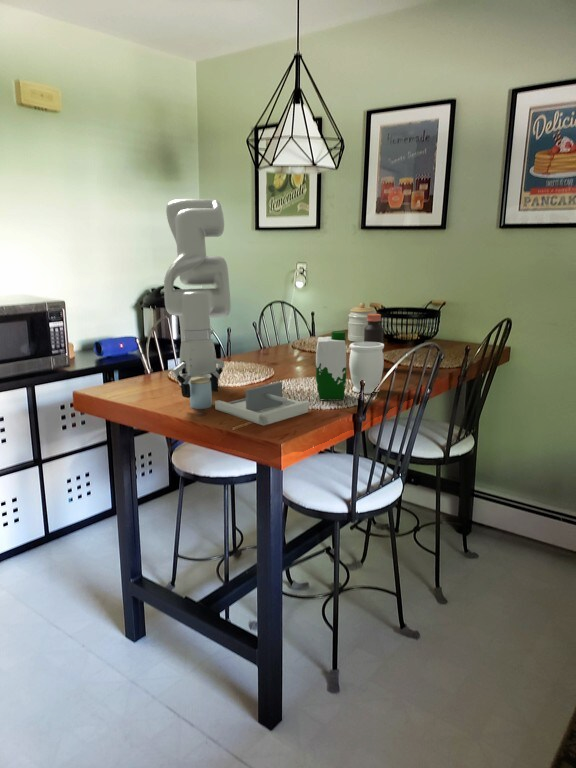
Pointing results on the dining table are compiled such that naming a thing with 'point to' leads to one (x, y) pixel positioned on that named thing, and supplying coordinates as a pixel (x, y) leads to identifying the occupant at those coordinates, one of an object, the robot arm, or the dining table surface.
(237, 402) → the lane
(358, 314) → the jar
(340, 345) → the milk carton
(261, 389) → the pusher
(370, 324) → the bottle
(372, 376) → the jar
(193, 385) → the glazed jar
